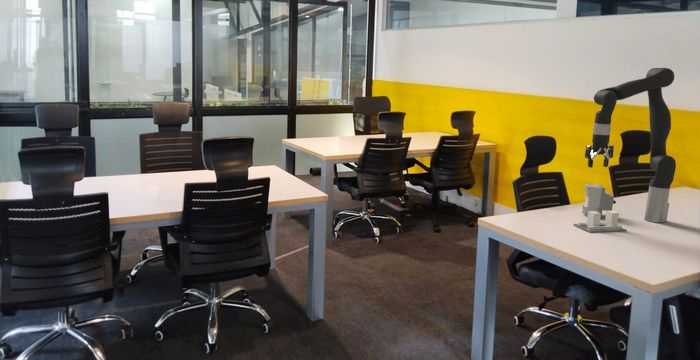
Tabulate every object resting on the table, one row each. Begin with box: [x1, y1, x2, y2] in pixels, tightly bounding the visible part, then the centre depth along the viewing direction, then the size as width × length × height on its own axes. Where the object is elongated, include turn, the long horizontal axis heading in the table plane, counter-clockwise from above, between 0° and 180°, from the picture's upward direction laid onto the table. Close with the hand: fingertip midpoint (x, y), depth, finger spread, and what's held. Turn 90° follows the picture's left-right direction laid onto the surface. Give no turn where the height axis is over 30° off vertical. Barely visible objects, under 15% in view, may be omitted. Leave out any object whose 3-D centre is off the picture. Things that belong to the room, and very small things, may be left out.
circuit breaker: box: [581, 183, 617, 218], centre depth 308 cm, size 8×14×15 cm, turn 78°
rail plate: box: [573, 210, 628, 234], centre depth 284 cm, size 20×12×8 cm, turn 106°
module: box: [586, 211, 602, 227], centre depth 283 cm, size 4×5×7 cm
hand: (597, 167), depth 291 cm, fingers open, 8 cm apart
